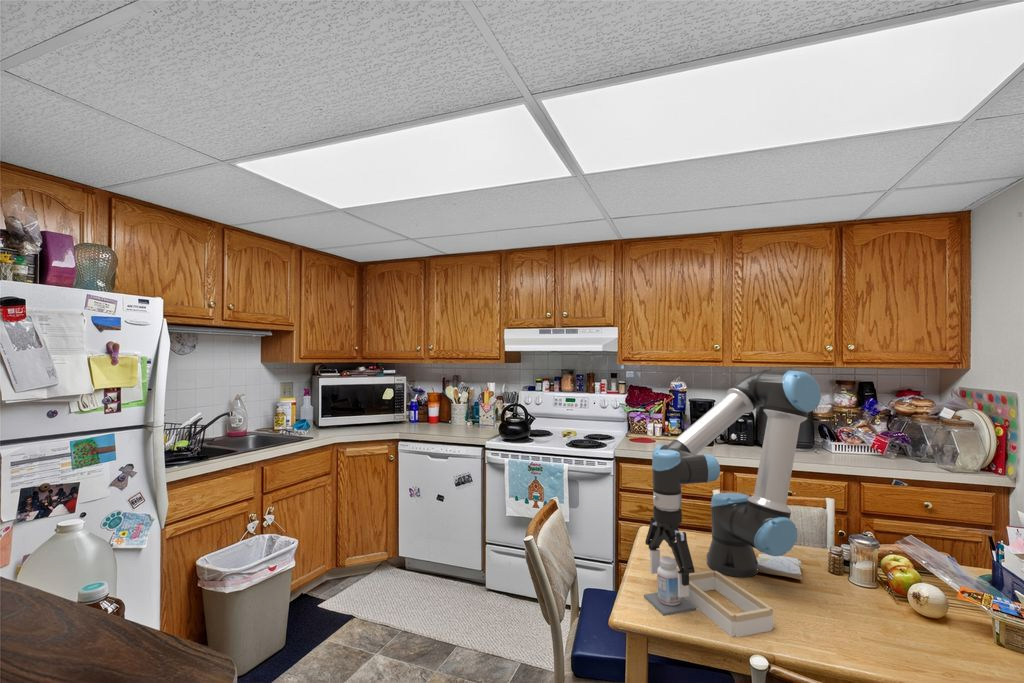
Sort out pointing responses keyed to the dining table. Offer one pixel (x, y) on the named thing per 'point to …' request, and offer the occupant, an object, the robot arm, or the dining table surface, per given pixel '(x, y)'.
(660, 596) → the pill bottle
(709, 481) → the robot arm
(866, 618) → the dining table surface
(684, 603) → the coaster
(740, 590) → the beige frame
